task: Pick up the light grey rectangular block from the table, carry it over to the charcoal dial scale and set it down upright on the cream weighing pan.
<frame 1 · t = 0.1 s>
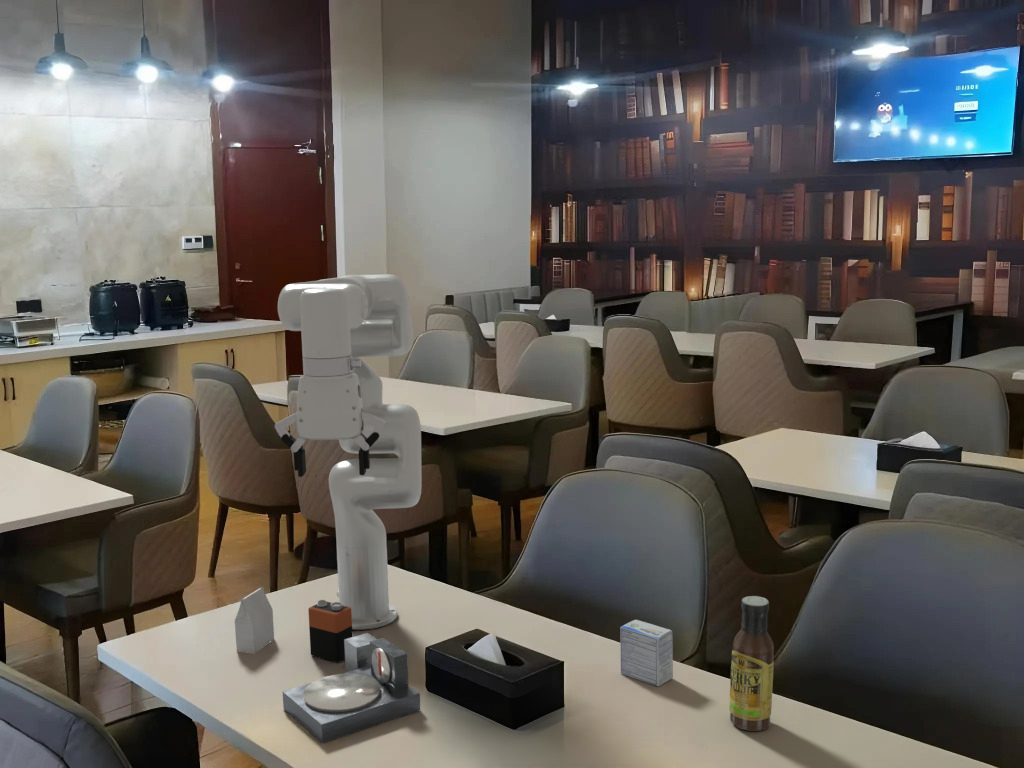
hand: (332, 474, 169), 37 cm above the table, tool pointing down, fingers open, 9 cm apart
dial scale: (351, 709, 169), on the table
light grey rectangular block: (363, 673, 182), on the table
medicine box: (646, 677, 179), on the table
grey house-shaped block: (255, 646, 195), on the table
sauce bottle: (750, 725, 162), on the table
battery: (332, 656, 190), on the table
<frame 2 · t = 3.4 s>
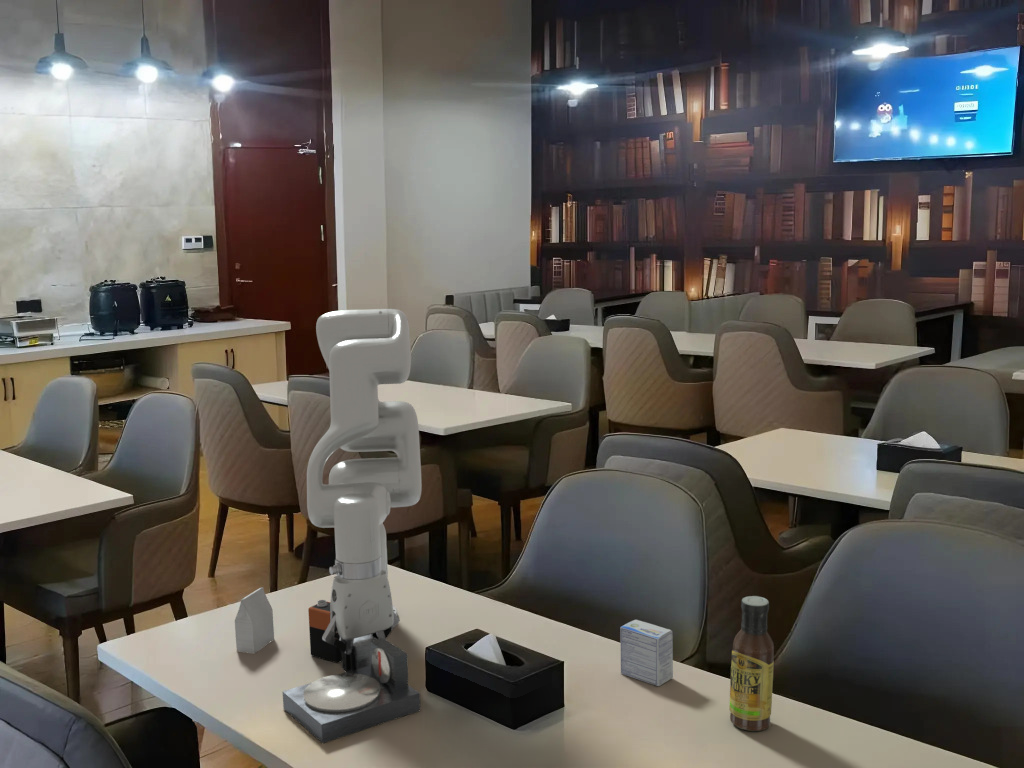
hand: (363, 668, 182), 1 cm above the table, tool pointing down, fingers closed on light grey rectangular block, 4 cm apart
light grey rectangular block: (363, 673, 182), on the table, touching gripper
everything else where it was.
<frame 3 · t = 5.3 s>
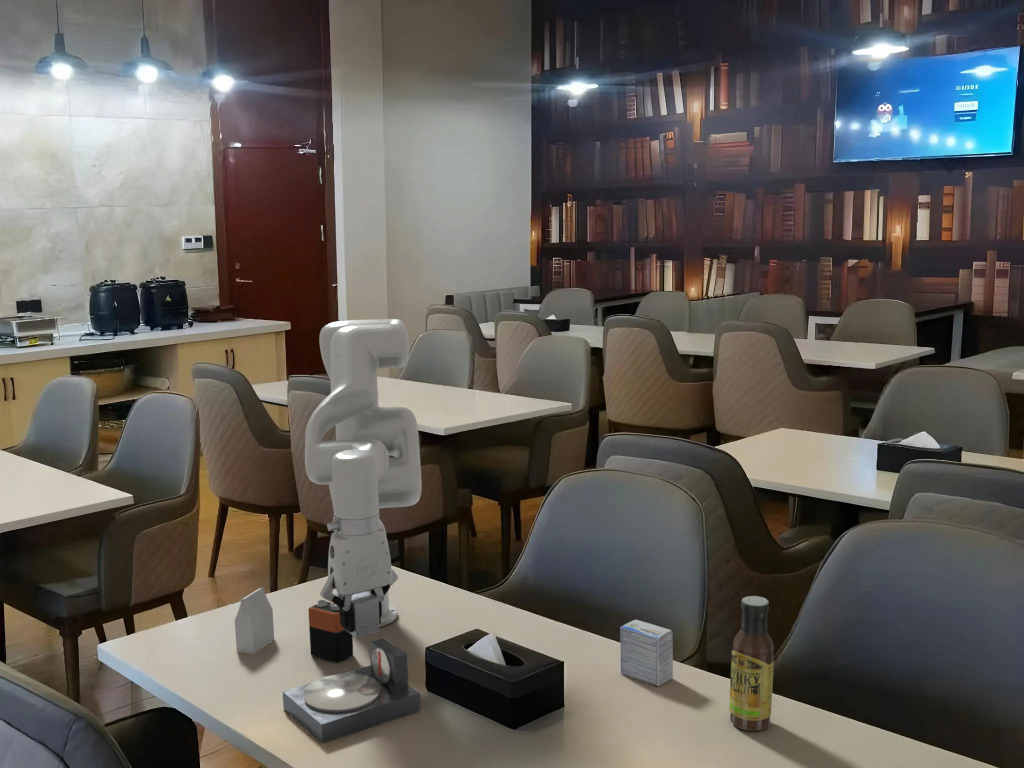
hand: (361, 624, 182), 8 cm above the table, tool pointing down, fingers closed on light grey rectangular block, 4 cm apart
light grey rectangular block: (361, 630, 182), point 8 cm above the table, touching gripper
everything else where it was.
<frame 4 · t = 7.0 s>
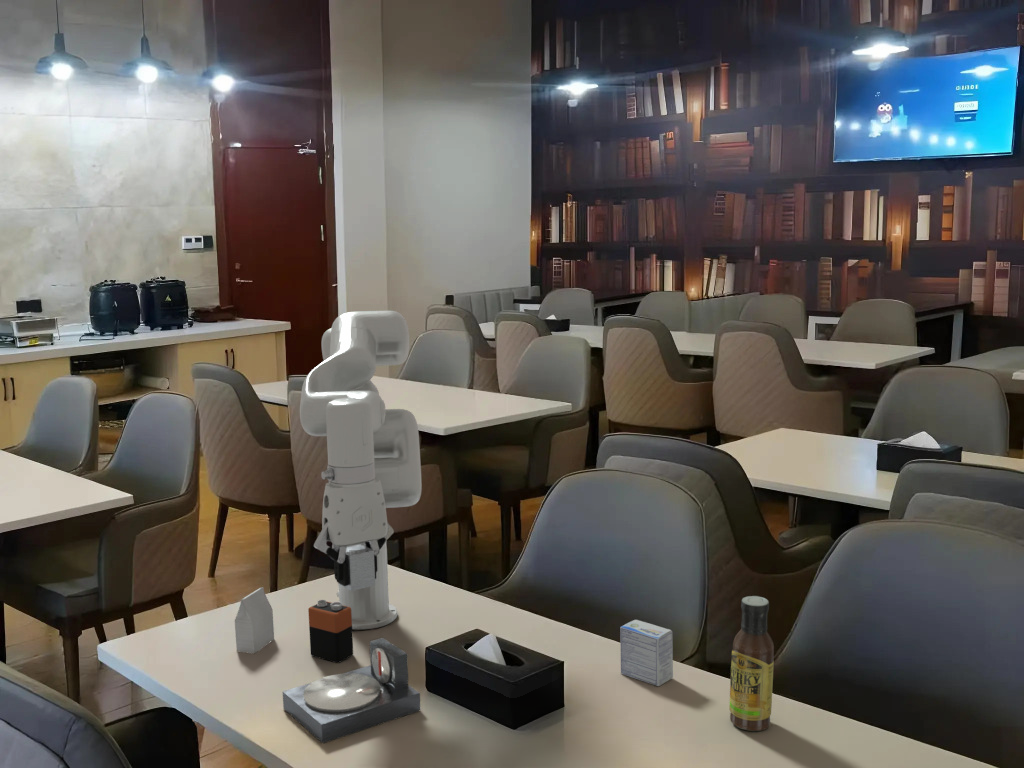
hand: (356, 579, 177), 18 cm above the table, tool pointing down, fingers closed on light grey rectangular block, 4 cm apart
light grey rectangular block: (356, 584, 177), point 17 cm above the table, touching gripper
everything else where it was.
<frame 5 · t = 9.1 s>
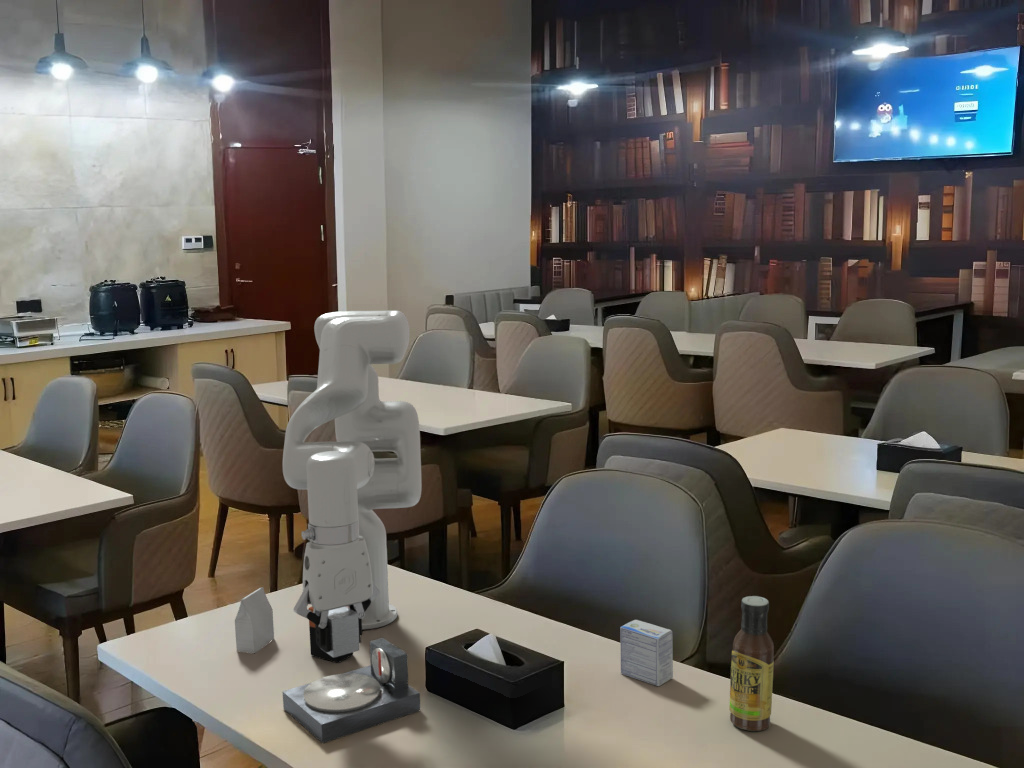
hand: (339, 644, 166), 12 cm above the table, tool pointing down, fingers closed on light grey rectangular block, 4 cm apart
light grey rectangular block: (339, 649, 166), point 11 cm above the table, touching gripper
everything else where it was.
when the fingers open (6 cm above the table, at t = 10.8 s): light grey rectangular block drops 1 cm, resting on dial scale.
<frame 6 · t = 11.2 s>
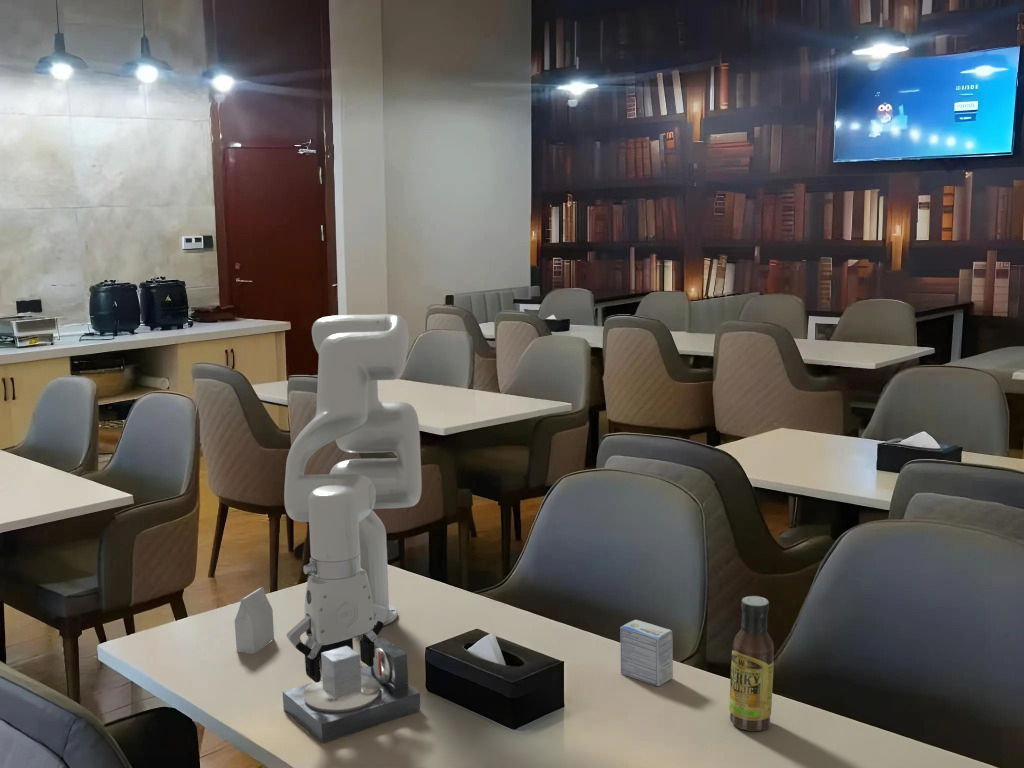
hand: (341, 671, 167), 7 cm above the table, tool pointing down, fingers open, 8 cm apart
light grey rectangular block: (342, 689, 167), point 4 cm above the table, touching dial scale
everything else where it was.
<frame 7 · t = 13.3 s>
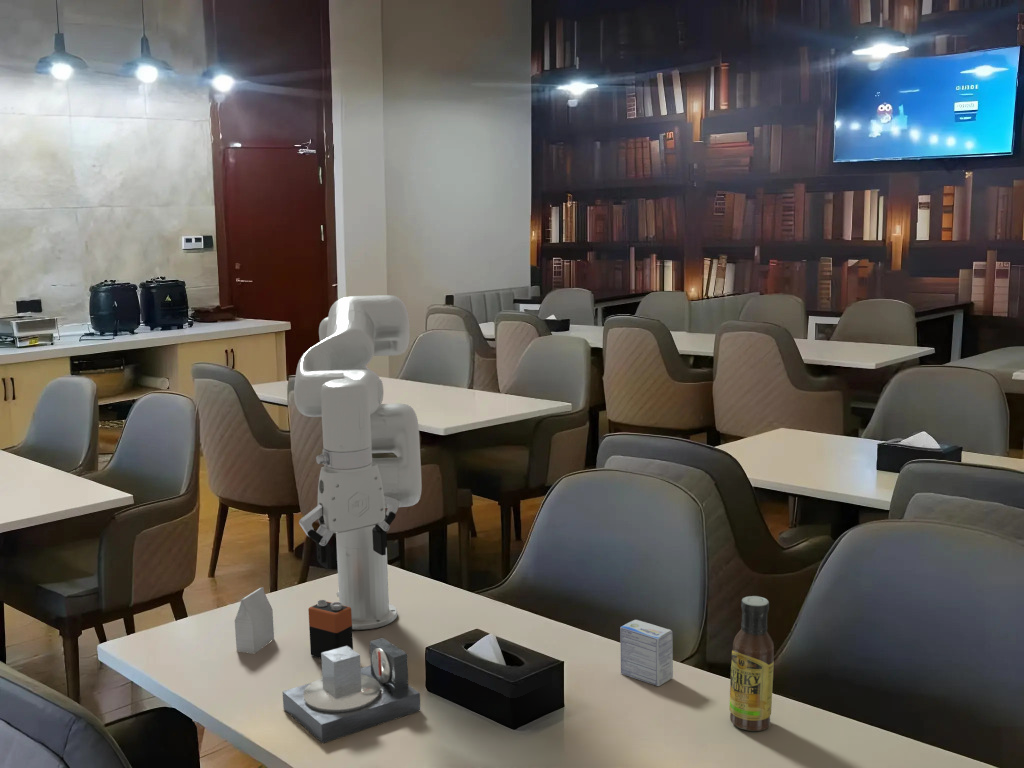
hand: (352, 559, 171), 23 cm above the table, tool pointing down, fingers open, 9 cm apart
nothing on the table moved.
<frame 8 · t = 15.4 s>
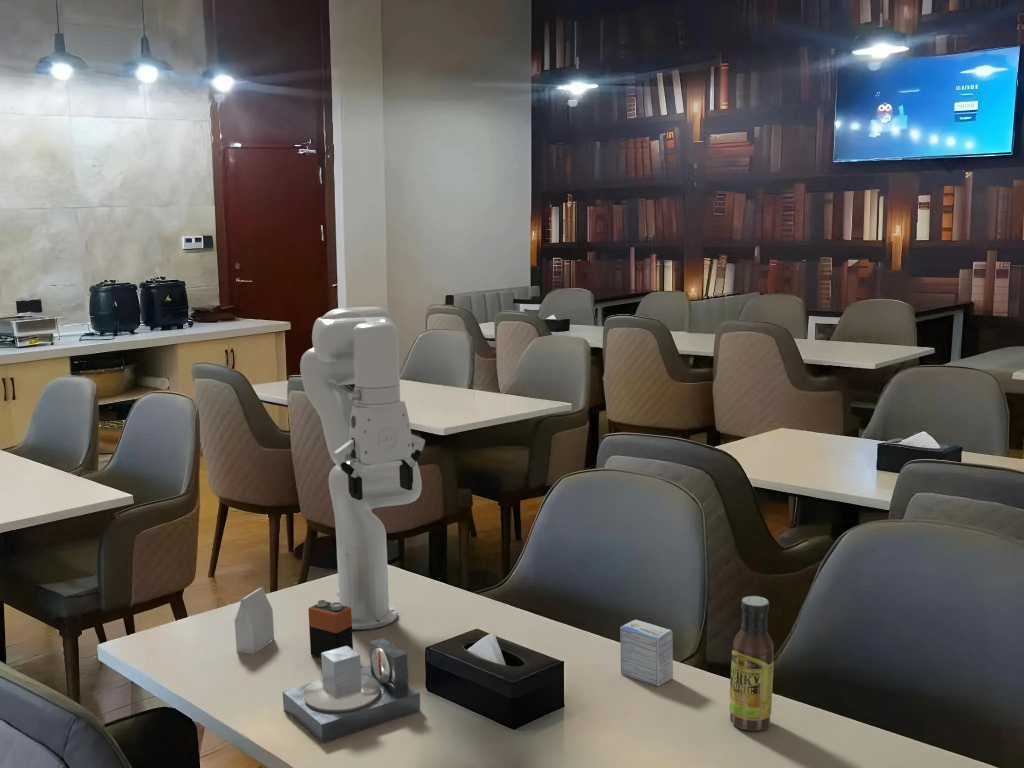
hand: (381, 493, 182), 30 cm above the table, tool pointing down, fingers open, 9 cm apart
nothing on the table moved.
at the end: light grey rectangular block inside the target area on the dial scale (0.0 cm from its centre), point 3.8 cm above the dial scale's base; light grey rectangular block tilted 0°; the gripper is holding nothing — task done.
